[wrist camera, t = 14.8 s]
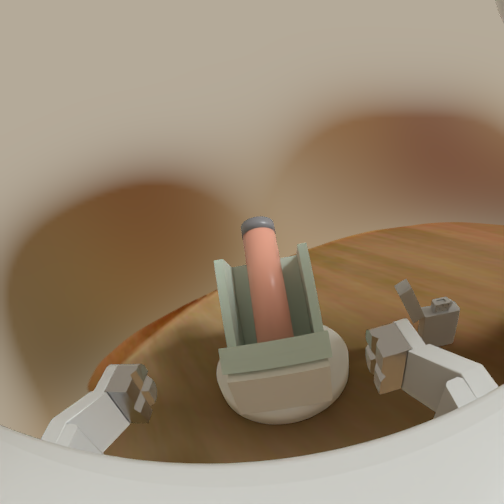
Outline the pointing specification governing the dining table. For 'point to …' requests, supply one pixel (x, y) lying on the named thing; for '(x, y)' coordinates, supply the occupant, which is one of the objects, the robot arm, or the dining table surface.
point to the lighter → (431, 316)
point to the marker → (266, 281)
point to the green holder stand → (278, 350)
